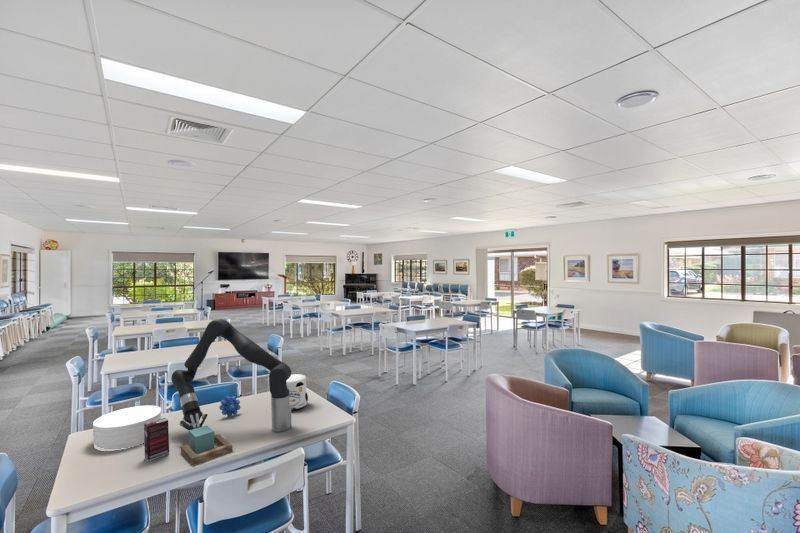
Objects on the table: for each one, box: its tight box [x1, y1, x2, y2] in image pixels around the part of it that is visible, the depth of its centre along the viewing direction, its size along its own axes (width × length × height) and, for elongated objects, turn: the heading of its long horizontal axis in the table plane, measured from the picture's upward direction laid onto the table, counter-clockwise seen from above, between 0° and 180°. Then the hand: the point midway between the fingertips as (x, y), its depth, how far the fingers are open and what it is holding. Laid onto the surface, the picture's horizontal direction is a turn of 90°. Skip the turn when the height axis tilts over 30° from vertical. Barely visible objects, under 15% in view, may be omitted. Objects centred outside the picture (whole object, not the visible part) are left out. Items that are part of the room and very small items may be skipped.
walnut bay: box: [180, 433, 233, 466], centre depth 171 cm, size 17×16×3 cm
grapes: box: [219, 395, 241, 418], centre depth 211 cm, size 12×7×12 cm, turn 134°
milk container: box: [286, 373, 309, 411], centre depth 225 cm, size 17×17×18 cm
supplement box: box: [144, 417, 170, 462], centre depth 167 cm, size 9×5×16 cm, turn 141°
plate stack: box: [92, 405, 163, 449], centre depth 187 cm, size 28×28×12 cm
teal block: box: [188, 424, 215, 455], centre depth 175 cm, size 8×10×8 cm
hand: (198, 435), depth 179 cm, fingers closed
